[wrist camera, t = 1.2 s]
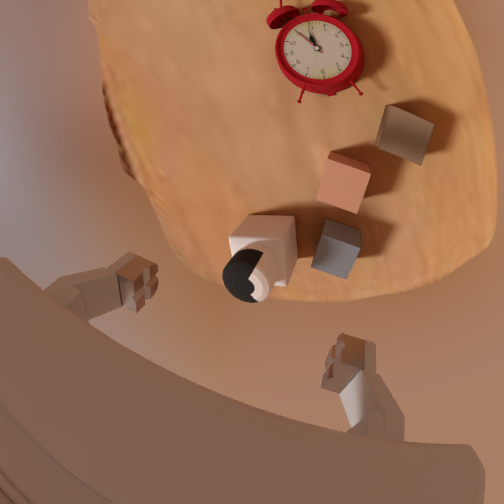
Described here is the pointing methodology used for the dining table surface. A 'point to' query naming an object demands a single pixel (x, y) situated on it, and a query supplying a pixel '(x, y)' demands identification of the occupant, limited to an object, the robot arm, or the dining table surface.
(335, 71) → the alarm clock
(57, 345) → the robot arm
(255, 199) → the dining table surface
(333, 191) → the terracotta block
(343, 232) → the slate-grey block
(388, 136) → the walnut block
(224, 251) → the dining table surface
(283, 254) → the medicine bottle
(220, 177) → the dining table surface
